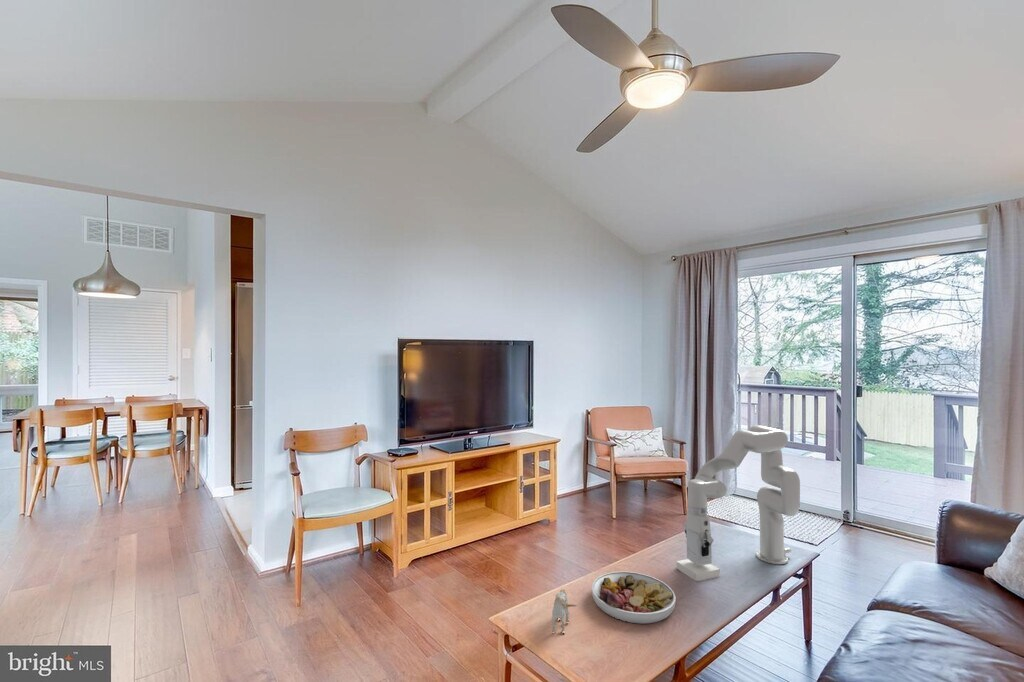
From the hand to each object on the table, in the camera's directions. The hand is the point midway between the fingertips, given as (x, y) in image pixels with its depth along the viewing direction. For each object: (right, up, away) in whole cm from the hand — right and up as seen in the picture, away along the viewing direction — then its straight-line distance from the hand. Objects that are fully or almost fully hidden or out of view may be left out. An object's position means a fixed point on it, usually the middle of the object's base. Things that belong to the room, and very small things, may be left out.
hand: (697, 551), depth 196 cm
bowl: (-34, -9, -24) cm, 43 cm away
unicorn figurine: (-60, -8, -41) cm, 73 cm away
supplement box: (+1, -4, 0) cm, 4 cm away
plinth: (0, -9, 0) cm, 9 cm away
